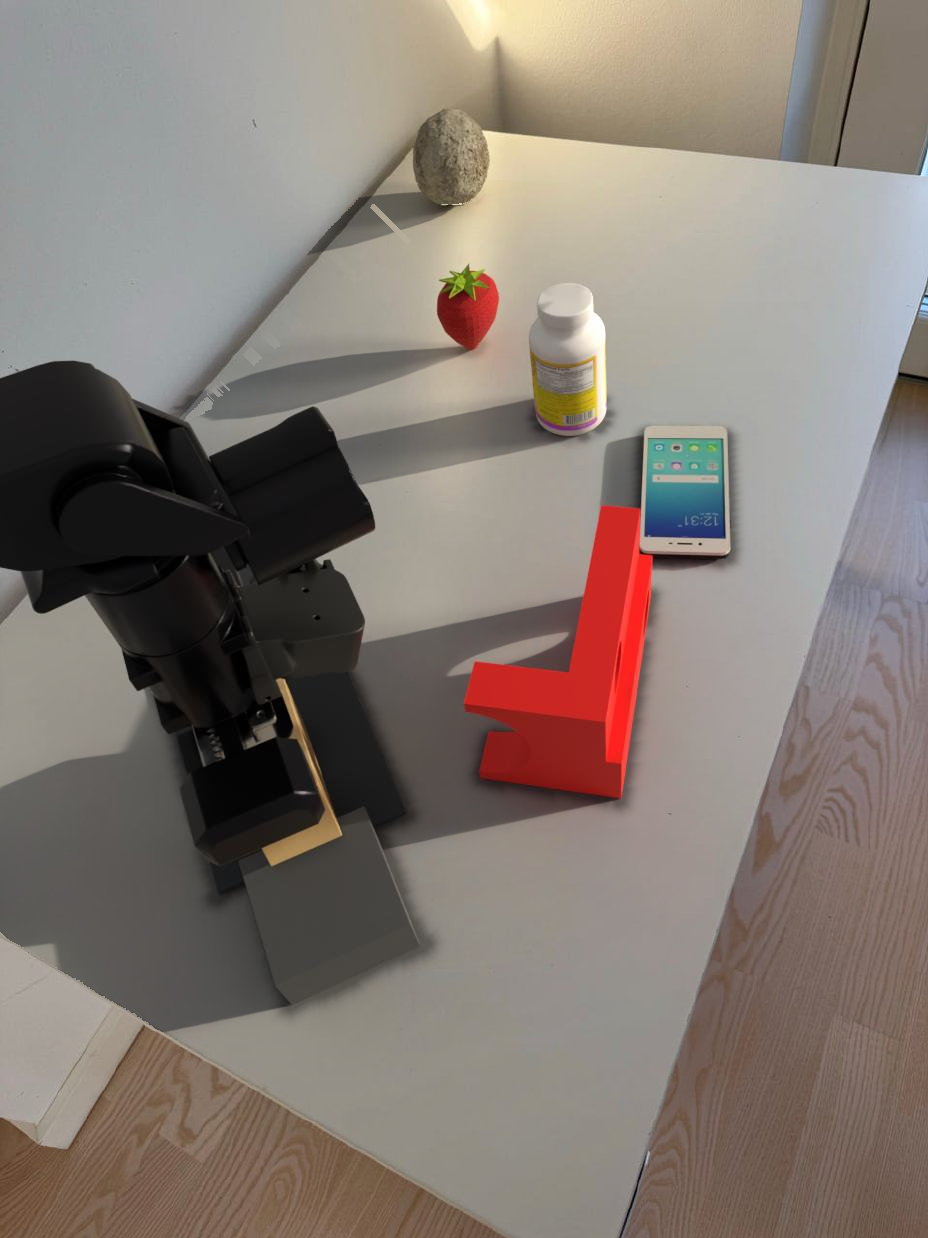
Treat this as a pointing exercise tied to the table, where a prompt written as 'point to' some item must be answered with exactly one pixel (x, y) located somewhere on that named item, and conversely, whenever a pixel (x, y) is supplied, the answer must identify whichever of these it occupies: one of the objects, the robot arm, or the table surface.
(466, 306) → the strawberry
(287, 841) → the maple block
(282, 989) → the stand
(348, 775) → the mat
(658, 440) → the smartphone
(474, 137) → the decorative stone
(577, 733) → the bracket
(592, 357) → the supplement bottle
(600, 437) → the table surface
